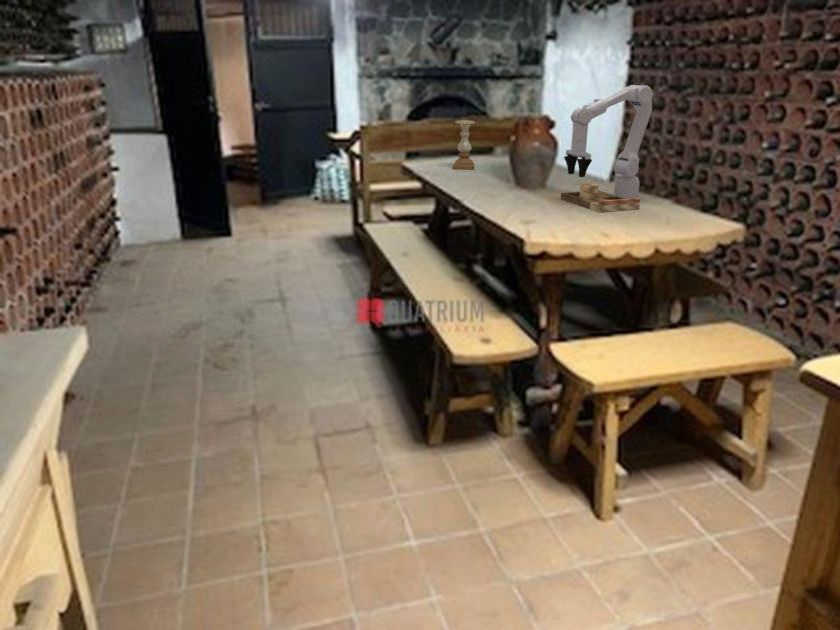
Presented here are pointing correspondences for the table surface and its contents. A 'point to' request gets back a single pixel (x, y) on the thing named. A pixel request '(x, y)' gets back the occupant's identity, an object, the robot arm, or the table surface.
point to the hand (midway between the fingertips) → (576, 175)
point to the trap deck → (602, 202)
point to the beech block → (589, 191)
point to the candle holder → (464, 148)
